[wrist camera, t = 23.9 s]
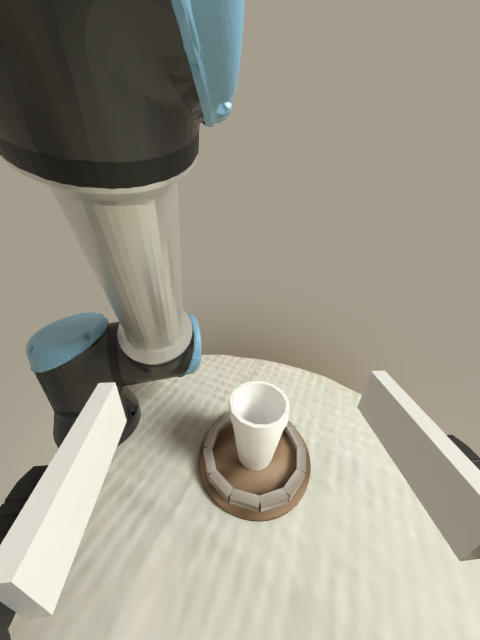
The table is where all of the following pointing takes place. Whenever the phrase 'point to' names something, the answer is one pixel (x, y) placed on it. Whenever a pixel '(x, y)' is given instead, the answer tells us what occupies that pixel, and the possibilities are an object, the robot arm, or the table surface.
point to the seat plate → (254, 474)
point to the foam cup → (258, 421)
